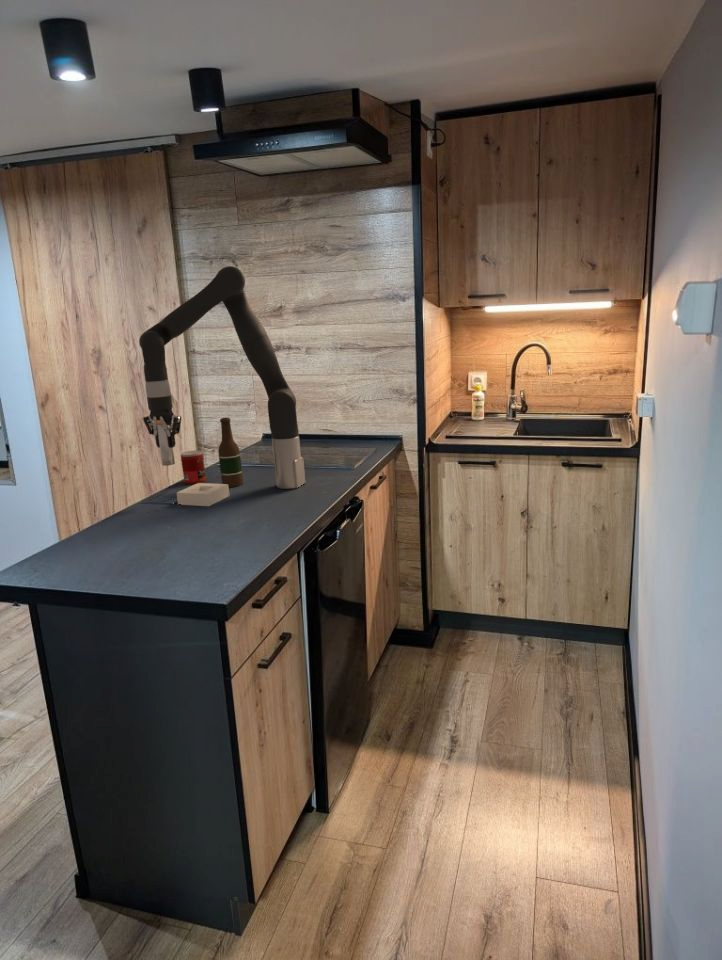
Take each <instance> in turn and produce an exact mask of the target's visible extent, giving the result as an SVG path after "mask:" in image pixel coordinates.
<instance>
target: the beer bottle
mask: <svg viewBox="0 0 722 960" xmlns="http://www.w3.org/2000/svg"><path fill="white" fill-rule="evenodd" d="M219 421H220V428H221V442H220V444H219V445H218V452H217V453H218V460H219V461H218V462H219V469H220V478H221V484H228V487H229V488H236V487H240V486H242V485H244V475H243V468H242V461H241V453H240V448H239V446H238V444H237V443H236V441H235V440H234V437H233V431H232V426H231V418H230V417H222V418H220V420H219Z"/></svg>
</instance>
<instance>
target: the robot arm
mask: <svg viewBox="0 0 722 960" xmlns="http://www.w3.org/2000/svg"><path fill="white" fill-rule="evenodd" d="M245 285H246V278H245V275H244V273H243V271H242V270H241V269H239V268H238V267H236V266H231V265H230V266H224V267H222V268H221V269H220V270H219V271H218V272H217V274H215V276H214V277H213V279H212V280H211V281H210V282H209V283H208V284H207V285H206V286H204V287H203V288H202V289H201V290H200V291H199V292H197V293H196V294H195V295H193V296H192V297H191V298H189V299H188V300H186V301H185V302H183V303H182V304H180V305H179V306H178V307H177V308H175V309H174V310H172V311H171V312H170V313H169V314H166V316H165V317H164V318H163V319H162V320H160V321H159V322H157V323H156V324H154V325H152V326H151V327H150V328H149V329H147V330H146V331H144V332H143V333H142V334H140V336H139V340H138V343H139V347H140V349H141V353H142V358H143V374H144V380H145V395H146V400H147V408H148V411H150V412H149V415H146V416H144V417H143V418H142V420H143V423H144V424H145V426H146V429H147V431H148V434H149V435H153V437H154V438H155V445H156V447H157V448H159V449H160V445H159V438H158V431H157V420H161V422H162V424H163V427H164V430H166V432H167V435H168V436H169V437H168V444H169V448H173V449H174V448H175V447H176V438H175V436H176V435H178V434H180V431H181V424H182V416H181V415H178V416H177V415H176V414H174V412H173V400H172V399H173V398H172V391H171V386H170V381H169V377H168V376H169V375H168V369H167V365H166V364H167V363H166V349H165V348H166V347H165V346H166V345H167V344H169V343H170V342H171V341H172V340H173V339H175V338H177V337H179V336H181V335H182V334H184V333H185V332H186V331H187V330H189V329H190V328H191V327H193V325H195V324H196V323H197V322H198V321H200V319H202V318H203V317H205V315H207V313H209V312H210V311H211V310H212V309H213V308H215V307H216V306H217V305H219V304H220V303H223V305H224V306H225V308H226V310H227V312H228V313H229V316H230V318H231V321H232V325H233V327H234V330H235V333H236V334H237V338H238V340H239V343H240V345H241V347H242V349H243V352H244V354H245V356H246V358H247V360H248V362H249V364H250V365H251V366H252V368H253V369H254V371H255V373H257V375H258V377H259V379H260V380H261V382H262V384H263V387H264V390H265V392H266V395H267V397H268V400H267V413H268V421H269V429H270V434H271V444H272V453H273V463H274V464H273V465H274V473H275V483H276V487H277V488H278V489H281V490H283V489H284V490H285V489H286V490H289V489H299V488H301V487H302V486H304V485H305V484H304V483H306V473H305V463H304V457H303V456H301V455H302V453H301V444H300V433H299V426H298V417H297V399H296V395H295V394H294V393H293V391H292V389H291V387H290V386H289V384H288V382H287V380H286V379H285V376H284V375H283V372H282V369H281V367H280V363H279V361H278V357H277V354H276V352H275V350H274V347H273V345H272V342H271V340H270V338H269V336H268V333H267V331H266V329H265V327H264V326H263V324H262V322H261V321H260V320H259V318H258V317H257V315H256V314H255V312H254V311H253V310H252V307H251V305H250V303H249V301H248V298H247V296H246V292H245ZM168 425H170V426H169V427H168ZM303 484H304V485H303ZM301 485H302V486H301ZM298 487H299V488H298Z"/></svg>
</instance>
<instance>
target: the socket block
mask: <svg viewBox="0 0 722 960" xmlns="http://www.w3.org/2000/svg"><path fill="white" fill-rule="evenodd" d="M229 488H230V487H228V484H222V483H209V482H208V483H205V482H202V483H197V484H192V485H191V486H188V487H186V488H183V489H182V490H179V491H177V492H176V498H177V505H179V504H181V505H183V506H199V507H201V506H202V507H210V506H212V505H214V504H217V503H219V502H220V501H223V500H224V499H226V498H228V497H230V489H229Z"/></svg>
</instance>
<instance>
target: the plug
mask: <svg viewBox="0 0 722 960" xmlns="http://www.w3.org/2000/svg"><path fill="white" fill-rule="evenodd" d="M169 426H170V425H168V427H169ZM157 431H158V438H159V445H160V448H159V451H160V458H161V463H162V467H165V466H166V467H167V466H172V465H175V464H176V463H175V461H176V460H175V453H174V447H173V448H169V444H168V437H169V436H168V435H167V432H166V430H164V427H163V424H162V422H161V420H157Z"/></svg>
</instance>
